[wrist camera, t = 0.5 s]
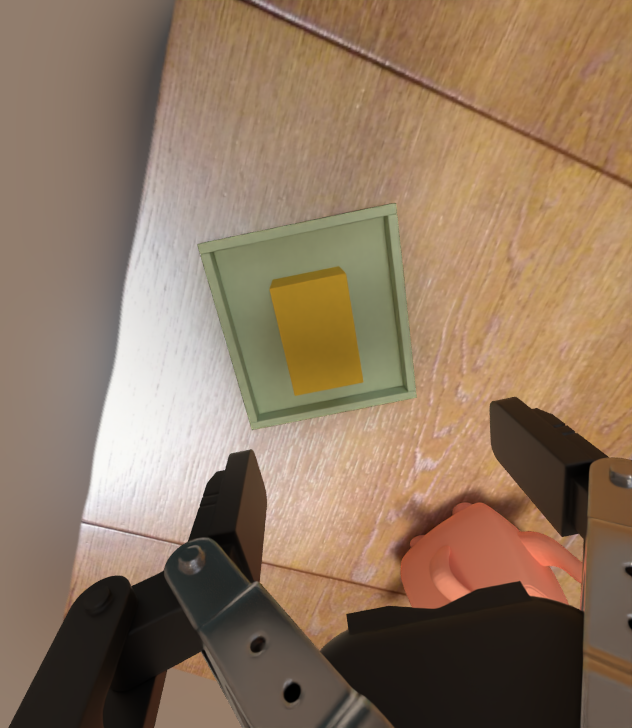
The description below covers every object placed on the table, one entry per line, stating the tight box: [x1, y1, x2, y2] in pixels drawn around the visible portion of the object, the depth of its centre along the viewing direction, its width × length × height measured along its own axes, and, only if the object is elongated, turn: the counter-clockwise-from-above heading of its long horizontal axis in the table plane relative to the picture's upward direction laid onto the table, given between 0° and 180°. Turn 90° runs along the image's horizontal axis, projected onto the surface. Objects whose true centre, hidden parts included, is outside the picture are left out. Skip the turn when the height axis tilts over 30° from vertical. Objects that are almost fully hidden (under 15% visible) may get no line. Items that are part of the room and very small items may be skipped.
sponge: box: [269, 266, 364, 396], centre depth 25 cm, size 7×4×4 cm, turn 11°
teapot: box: [401, 502, 582, 609], centre depth 30 cm, size 14×12×10 cm
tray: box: [197, 203, 417, 430], centre depth 26 cm, size 13×12×2 cm
